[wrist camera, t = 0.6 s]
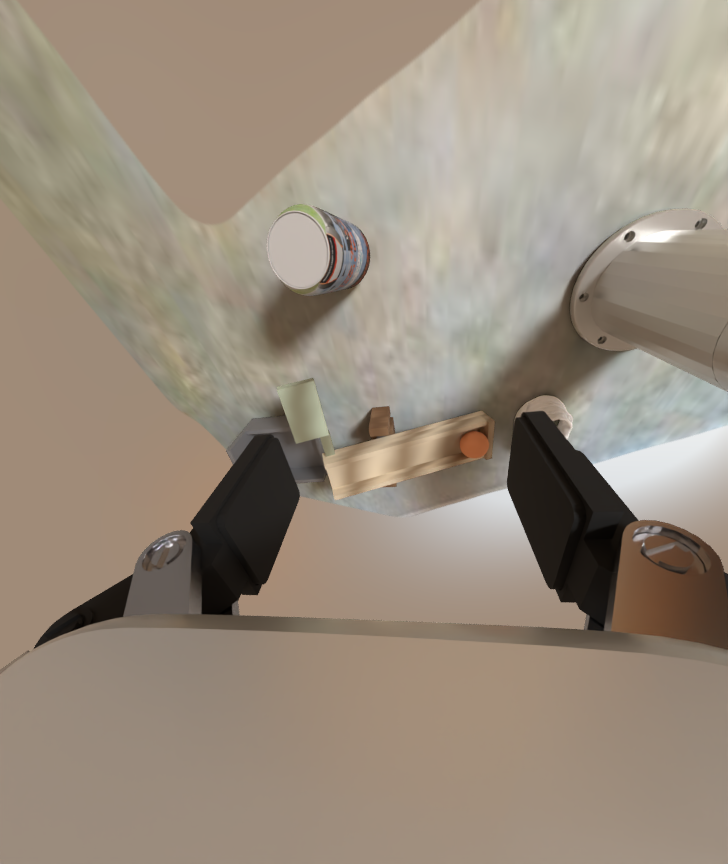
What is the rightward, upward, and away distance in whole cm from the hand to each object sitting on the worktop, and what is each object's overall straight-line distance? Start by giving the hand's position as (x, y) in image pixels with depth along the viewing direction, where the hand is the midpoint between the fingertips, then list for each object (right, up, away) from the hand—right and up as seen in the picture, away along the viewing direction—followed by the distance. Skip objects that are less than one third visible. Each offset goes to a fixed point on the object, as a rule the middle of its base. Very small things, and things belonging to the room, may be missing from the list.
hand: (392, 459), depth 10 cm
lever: (+3, +3, +28) cm, 28 cm away
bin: (-12, -1, +36) cm, 38 cm away
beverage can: (-4, +20, +21) cm, 29 cm away
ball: (+13, -1, +28) cm, 31 cm away
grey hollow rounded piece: (+22, +3, +29) cm, 37 cm away
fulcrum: (+2, 0, +33) cm, 33 cm away
